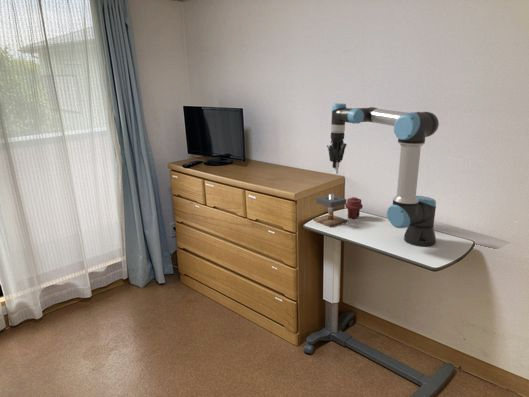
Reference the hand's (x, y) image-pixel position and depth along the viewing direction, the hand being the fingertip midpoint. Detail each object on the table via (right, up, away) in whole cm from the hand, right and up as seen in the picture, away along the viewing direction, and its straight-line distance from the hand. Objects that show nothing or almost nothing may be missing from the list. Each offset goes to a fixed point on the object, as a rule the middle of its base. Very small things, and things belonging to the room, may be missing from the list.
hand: (335, 173), depth 232 cm
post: (-2, -27, +4) cm, 27 cm away
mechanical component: (+13, -26, +11) cm, 31 cm away
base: (-2, -28, +5) cm, 29 cm away
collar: (-2, -17, +2) cm, 18 cm away
